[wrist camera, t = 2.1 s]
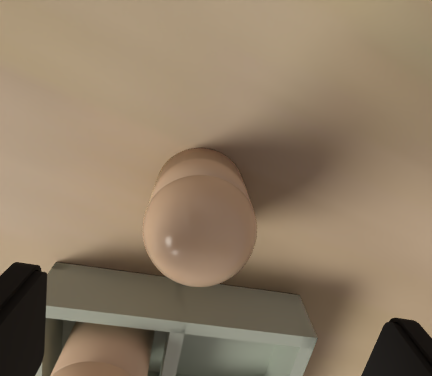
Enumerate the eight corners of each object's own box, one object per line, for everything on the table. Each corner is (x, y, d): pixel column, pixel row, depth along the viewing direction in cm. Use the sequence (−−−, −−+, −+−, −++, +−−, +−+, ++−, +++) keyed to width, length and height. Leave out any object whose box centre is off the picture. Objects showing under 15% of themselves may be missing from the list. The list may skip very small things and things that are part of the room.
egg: (162, 140, 16) (140, 187, 10) (252, 156, 16) (282, 210, 10) (150, 222, 17) (125, 305, 11) (233, 235, 18) (250, 320, 12)
